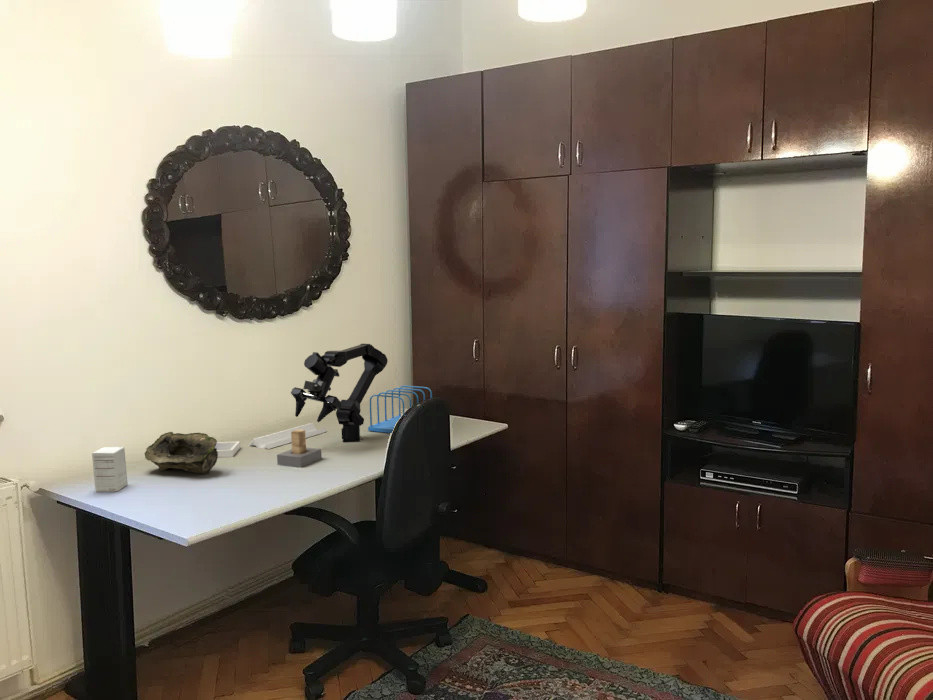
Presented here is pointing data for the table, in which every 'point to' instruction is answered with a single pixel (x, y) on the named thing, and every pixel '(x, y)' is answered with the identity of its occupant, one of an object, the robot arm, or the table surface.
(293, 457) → the end cap
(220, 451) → the tray
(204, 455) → the hollow geode rock
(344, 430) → the robot arm
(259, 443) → the crown molding
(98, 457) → the supplement box
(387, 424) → the file sorter
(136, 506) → the table surface
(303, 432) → the tan wooden block
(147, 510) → the table surface
